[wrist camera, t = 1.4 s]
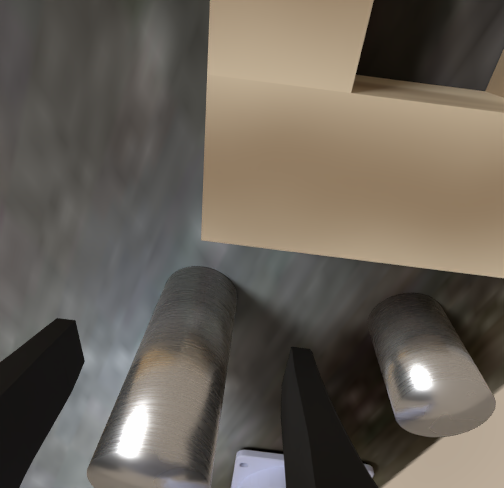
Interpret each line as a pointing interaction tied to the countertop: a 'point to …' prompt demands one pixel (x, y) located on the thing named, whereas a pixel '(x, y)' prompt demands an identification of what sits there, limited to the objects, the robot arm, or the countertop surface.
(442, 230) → the birch board
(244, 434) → the countertop surface
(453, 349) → the short steel pin
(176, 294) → the long steel pin
